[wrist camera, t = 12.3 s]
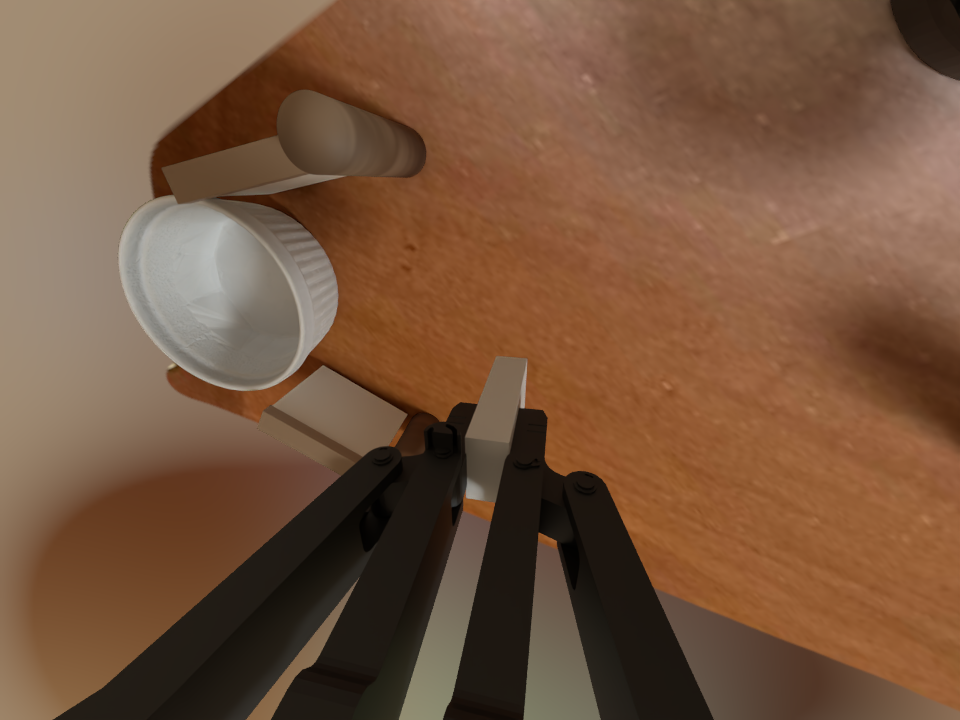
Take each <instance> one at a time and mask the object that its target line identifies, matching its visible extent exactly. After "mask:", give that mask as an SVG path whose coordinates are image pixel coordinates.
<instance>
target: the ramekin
mask: <svg viewBox="0 0 960 720" xmlns="http://www.w3.org/2000/svg"><path fill="white" fill-rule="evenodd" d="M118 268H119V275H120V280H121V284H122V287H123V291H124V294H125V296H126V299H127V301H128V304H129V306H130V308H131V310H132V312H133V314H134V316H135V317H136V319H137V320H138V322H139V324H140V325H141V327H142V328H143V330H144V331H145V332H146V334H147V335H148V336H149V338H150V339H151V340H152V341H153V342H154V343H155V344H156V346H157V347H158V348H159V349H160V350H161V351H162V352H163V353H164V354H166V355H167V356H168V357H169V358H170V359H171V360H172V361H174V362H175V363H176V364H177V365H179V366H180V367H182V368H183V369H185V370H186V371H188V372H189V373H191V374H193V375H194V376H196V377H198V378H200V379H202V380H204V381H206V382H209V383H211V384H214V385H216V386H220V387H223V388H227V389H232V390H240V391H254V390H261V389H266V388H269V387H271V386H274V385H276V384H278V383H280V382H281V381H283V380H284V379H286V378H287V377H289V376H290V375H292V374H293V373H294V372H295V371H296V370H297V369H298V368H299V367H300V366H301V365H302V364H303V362H304V361H305V359H306V357H307V356H308V354H309V353H310V352H311V351H312V350H313V349H314V348H315V347H316V345H317V344H318V343H319V342H320V341H321V340H322V339H323V337H324V336H325V335H326V334H327V332H328V331H329V329H330V327H331V325H332V324H333V322H334V317H335V316H336V311H337V306H338V286H337V282H336V276H335V274H334V271H333V267H332V265H331V263H330V261H329V258H328V256H327V255H326V253H325V251H324V250H323V248H322V247H321V245H320V244H319V243H318V241H317V240H316V239H315V238H314V237H313V236H312V234H311V233H310V232H309V231H308V230H306V229H305V228H304V227H303V226H302V225H301V224H300V223H298V222H297V221H295V220H294V219H293V218H291V217H289V216H287V215H286V214H284V213H283V212H280V211H277V210H275V209H273V208H271V207H266V206H263V205H260V204H255V203H248V202H241V201H232V200H222V199H219V198H216V197H215V198H211V199H207V200H203V201H199V202H195V203H191V204H178V203H177V201H176V199H175V197H174V195H168V196H162V197H159V198H156V199H153V200H150V201H148V202H147V203H145V204H144V205H142V206H141V207H139V208H138V209H137V210H136V211H135V212H134V213H133V215H132V216H131V217H130V218H129V220H128V221H127V223H126V225H125V227H124V229H123V231H122V234H121V237H120V242H119V248H118Z"/></svg>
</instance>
